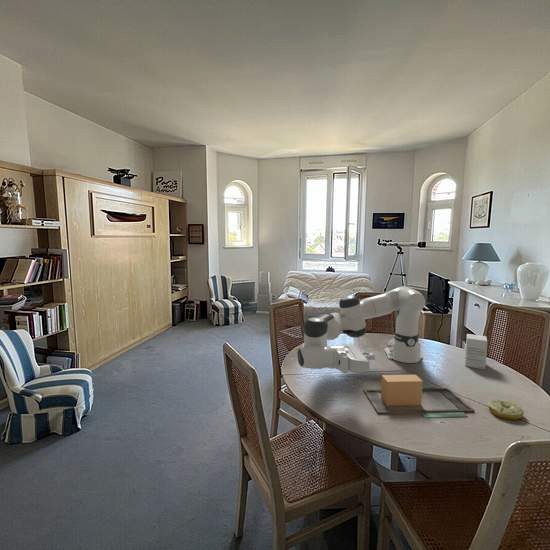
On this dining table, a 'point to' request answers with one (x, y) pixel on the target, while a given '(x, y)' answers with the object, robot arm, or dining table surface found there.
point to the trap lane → (451, 396)
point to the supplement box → (476, 351)
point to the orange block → (401, 390)
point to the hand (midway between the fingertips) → (373, 356)
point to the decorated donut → (506, 409)
